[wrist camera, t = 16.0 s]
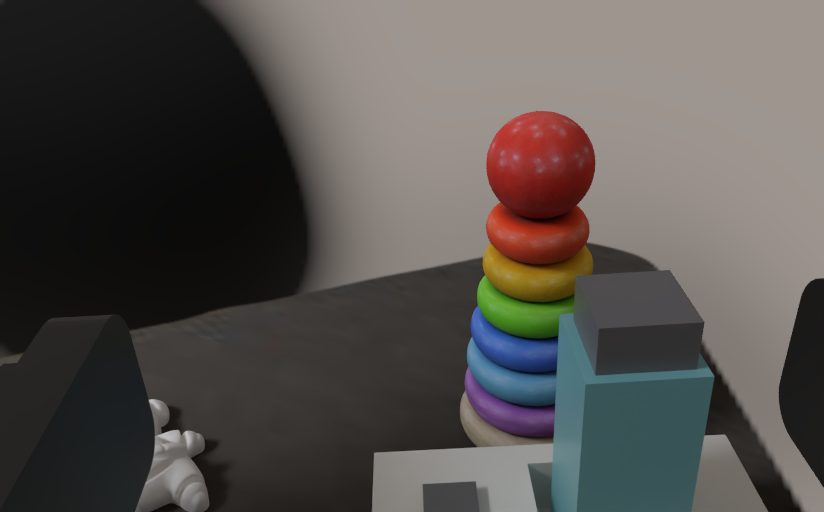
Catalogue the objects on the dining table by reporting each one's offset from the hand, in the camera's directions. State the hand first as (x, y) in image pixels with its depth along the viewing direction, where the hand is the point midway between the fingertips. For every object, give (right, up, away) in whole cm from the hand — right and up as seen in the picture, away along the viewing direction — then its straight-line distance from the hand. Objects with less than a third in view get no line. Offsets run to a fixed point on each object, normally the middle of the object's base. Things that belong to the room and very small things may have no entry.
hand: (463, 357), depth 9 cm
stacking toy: (+6, -9, +35) cm, 36 cm away
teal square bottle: (+8, -13, +25) cm, 29 cm away
